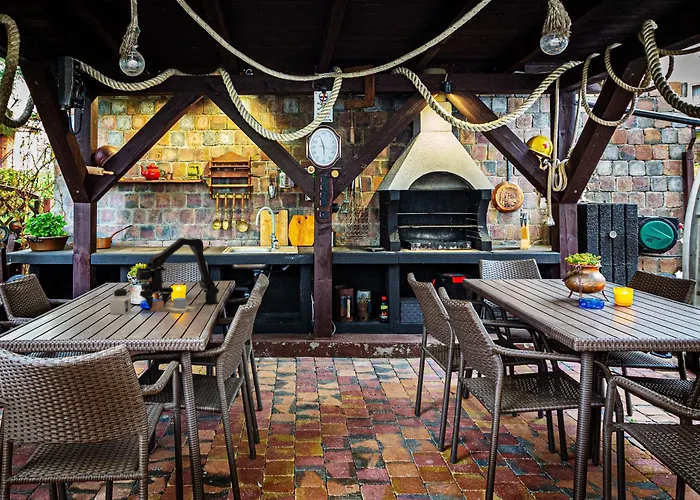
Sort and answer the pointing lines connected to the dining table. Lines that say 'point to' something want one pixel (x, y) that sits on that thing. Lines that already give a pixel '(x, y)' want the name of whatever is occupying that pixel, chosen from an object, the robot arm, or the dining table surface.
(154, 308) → the terracotta block
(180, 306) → the gray block
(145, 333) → the dining table surface
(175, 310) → the birch base
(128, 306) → the container
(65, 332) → the dining table surface
